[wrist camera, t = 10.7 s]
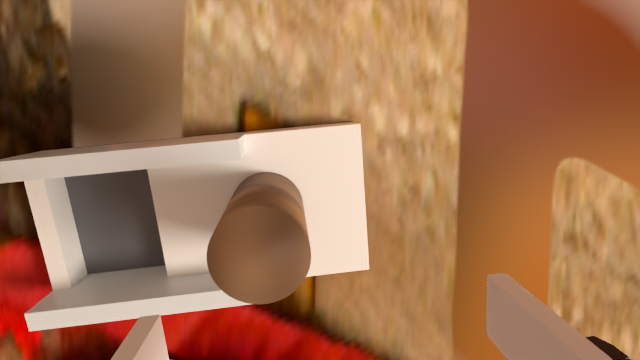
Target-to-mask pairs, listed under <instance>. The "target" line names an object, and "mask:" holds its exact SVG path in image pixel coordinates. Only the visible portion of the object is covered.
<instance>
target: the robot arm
mask: <svg viewBox="0 0 640 360" xmlns="http://www.w3.org/2000/svg"><path fill="white" fill-rule="evenodd" d="M486 334H487V336H488V337H489V338H490V339H491V340H492V342H493V343H494V344H495V345H496V346H497V348H498V349H499V350H500V351H501V352H502V354H503V355H504V356H505V357H506V358H507V360H630V359H629V357H628V356H627V355H625V354H624V353H623V352H621V351H620V350H619V349H617V348H616V347H615V346H613V345H611V344H609V343H607V342H605V341H603V340H601V339H599V338H597V337H595V336H591V337H584V336H583V335H582V334H581V333H579V332H578V331H577V330H576V329H574V328H573V327H572V326H571V325H569V324H568V323H567V322H566V321H564V320H563V319H562V318H561V317H559V316H558V315H557V314H556V313H555V312H553V311H552V310H551V309H550V308H548V307H547V306H546V305H545V304H543V303H542V302H541V301H540V300H538V299H537V298H536V297H535V296H533V295H532V294H531V293H530V292H528V291H527V290H526V289H524V287H522V286H521V285H520V284H518V283H517V282H516V281H515V280H513V279H512V278H511V277H510V276H509V275H507V274H506V273H500V274H491V275H487V324H486ZM111 360H169V356H168V351H167V346H166V341H165V336H164V331H163V326H162V321H161V316H160V315H152V316H143V317H139V319H138V320H137V322H136V323H135V325H134V326H133V328H132V329H131V331H130V332H129V334H128V335H127V336H126V338H125V339H124V341H123V342H122V344H121V345H120V347H119V348H118V350H117V351H116V353H115V354H114V355H113V357H112V358H111Z"/></svg>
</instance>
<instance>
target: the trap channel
mask: <svg viewBox="0 0 640 360" xmlns="http://www.w3.org/2000/svg"><path fill="white" fill-rule="evenodd" d="M261 172H273V173H277V174H280V175H283V176H285V177H286V178H288V179H289V180H291V181H292V182H293V183H294V184H295V185H296V187H297V188H298V190H299V192H300V194H301V197H302V201H303V206H304V212H305V218H306V224H307V230H308V236H309V242H310V248H311V263H310V268H309V271H308V274H307V276H306V277H309V276H317V275H326V274H334V273H343V272H351V271H359V270H368V269H369V256H368V240H367V224H366V207H365V191H364V175H363V159H362V142H361V126H360V123H357V122H345V123H334V124H324V125H313V126H302V127H291V128H281V129H270V130H259V131H248V132H238V133H227V134H216V135H205V136H195V137H184V138H173V139H163V140H152V141H141V142H131V143H120V144H109V145H98V146H87V147H78V148H77V147H76V148H66V149H55V150H44V151H38V152H33V153H28V154H24V155H19V156H14V157H9V158H4V159H0V183H10V182H20V181H24V184H25V188H26V192H27V196H28V199H29V203H30V207H31V210H32V214H33V218H34V222H35V225H36V229H37V233H38V237H39V240H40V244H41V248H42V251H43V255H44V259H45V263H46V266H47V270H48V274H49V278H50V281H51V285H52V289H53V291H52V292H50V293H49V294H48V295H47V296H46V297H44V298H43V299H42V300H41V301H39V302H38V303H37V304H36V305H34V306H33V307H32V308H31V309H30V310H28V311H27V312H26V313H25V314H24V315H25V319H26V322H27V326H28V329H29V332H30V331H38V330H46V329H54V328H62V327H70V326H78V325H87V324H95V323H103V322H111V321H119V320H127V319H136V318H139V317H143V316H152V315H168V314H176V313H184V312H193V311H201V310H209V309H217V308H225V307H233V306H242V305H250V303H245V302H241V301H238V300H236V299H234V298H232V297H230V296H228V295H227V294H226V293H224V292H223V291H222V290H221V289H220V288H219V287H218V286H217V285H216V283H215V282H214V280H213V279H212V277H211V275H210V272H209V269H208V266H207V248H208V244H209V241H210V238H211V236H212V234H213V232H214V230H215V228H216V226H217V225H218V223H219V221H220V219H221V217H222V215H223V213H224V211H225V209H226V207H227V205H228V203H229V201H230V199H231V197H232V196H233V194H234V192H235V190H236V188H237V187H238V185H239V184H240V183H241V182H242V181H243V180H245V179H246V178H248V177H249V176H251V175H254V174H257V173H261Z"/></svg>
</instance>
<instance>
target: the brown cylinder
mask: <svg viewBox="0 0 640 360" xmlns="http://www.w3.org/2000/svg"><path fill="white" fill-rule="evenodd" d="M310 263H311V248H310V242H309V236H308V230H307V224H306V218H305V212H304V206H303V201H302V197H301V194H300V192H299V190H298V188H297V187H296V185H295V184H294V183H293V182H292V181H291V180H289V179H288V178H286V177H285V176H283V175H280V174H277V173H273V172H261V173H257V174H254V175H251V176H249V177H248V178H246V179H245V180H243V181H242V182H241V183H240V184H239V185H238V187H237V188H236V190H235V192H234V194H233V196H232V197H231V199H230V201H229V203H228V205H227V207H226V209H225V211H224V213H223V215H222V217H221V219H220V221H219V223H218V225H217V226H216V228H215V230H214V232H213V234H212V236H211V238H210V241H209V244H208V248H207V266H208V269H209V272H210V275H211V277H212V279H213V280H214V282H215V283H216V285H217V286H218V287H219V288H220V289H221V290H222V291H223V292H224V293H226V294H227V295H228V296H230V297H232V298H234V299H236V300H238V301H241V302H245V303H250V304H268V303H272V302H276V301H279V300H281V299H283V298H285V297H287V296H289V295H290V294H292V293H293V292H294V291H295V290H296V289H297V288H298V287H299V286H300V285H301V284H302V282H303V281H304V279H305V278H306V276H307V274H308V271H309V268H310Z"/></svg>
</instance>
